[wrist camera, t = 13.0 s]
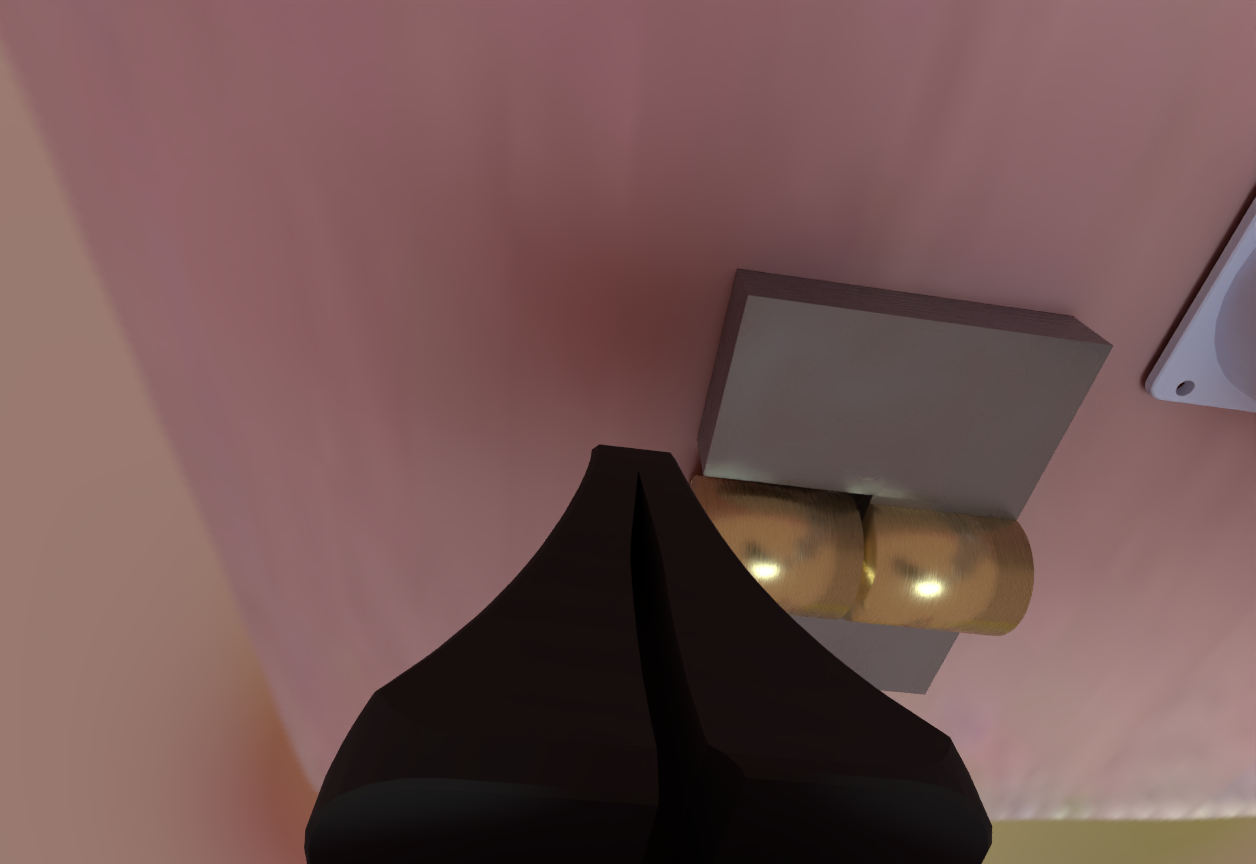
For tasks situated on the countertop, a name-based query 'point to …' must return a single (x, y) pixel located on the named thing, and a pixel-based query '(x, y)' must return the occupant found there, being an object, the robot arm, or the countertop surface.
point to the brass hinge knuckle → (819, 575)
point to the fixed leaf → (903, 431)
